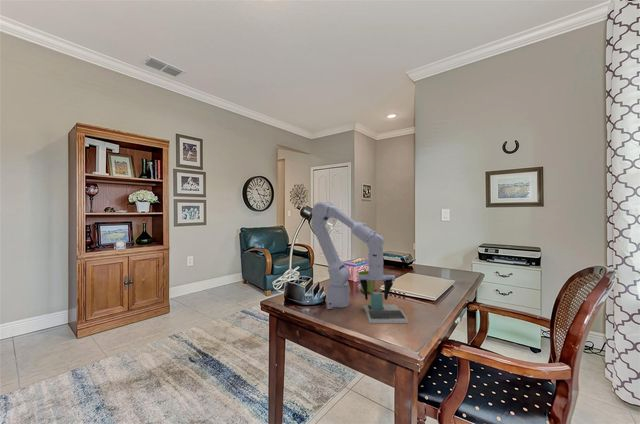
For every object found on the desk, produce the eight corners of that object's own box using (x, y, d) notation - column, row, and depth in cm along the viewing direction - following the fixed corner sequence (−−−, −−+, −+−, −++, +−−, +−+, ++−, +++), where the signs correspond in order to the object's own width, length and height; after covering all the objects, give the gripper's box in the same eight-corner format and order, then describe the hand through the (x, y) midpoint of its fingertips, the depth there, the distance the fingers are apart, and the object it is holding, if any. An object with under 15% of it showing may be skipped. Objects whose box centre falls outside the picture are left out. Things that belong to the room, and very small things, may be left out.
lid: (366, 315, 99) (366, 312, 99) (363, 306, 108) (363, 304, 108) (401, 314, 99) (401, 312, 99) (395, 306, 107) (395, 303, 107)
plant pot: (353, 290, 128) (353, 272, 128) (367, 286, 133) (367, 269, 133) (367, 295, 120) (367, 277, 120) (381, 291, 125) (381, 273, 125)
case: (369, 325, 91) (369, 319, 91) (366, 314, 99) (365, 309, 99) (408, 325, 91) (408, 319, 91) (401, 314, 99) (401, 309, 99)
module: (372, 310, 101) (372, 294, 101) (370, 306, 105) (370, 291, 105) (382, 310, 101) (382, 294, 101) (380, 306, 105) (380, 291, 105)
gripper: (358, 267, 99) (358, 302, 100) (397, 267, 99) (397, 302, 99) (356, 263, 106) (356, 296, 107) (392, 262, 106) (392, 296, 106)
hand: (376, 298), depth 103 cm, fingers open, 7 cm apart
